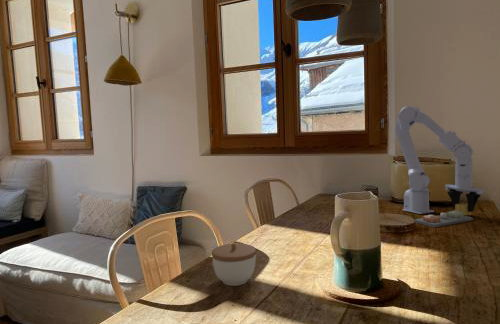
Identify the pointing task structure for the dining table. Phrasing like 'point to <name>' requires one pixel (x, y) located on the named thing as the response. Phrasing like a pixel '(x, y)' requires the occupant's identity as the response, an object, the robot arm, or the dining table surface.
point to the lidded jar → (234, 263)
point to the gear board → (443, 219)
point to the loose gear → (462, 208)
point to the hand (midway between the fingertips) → (463, 210)
